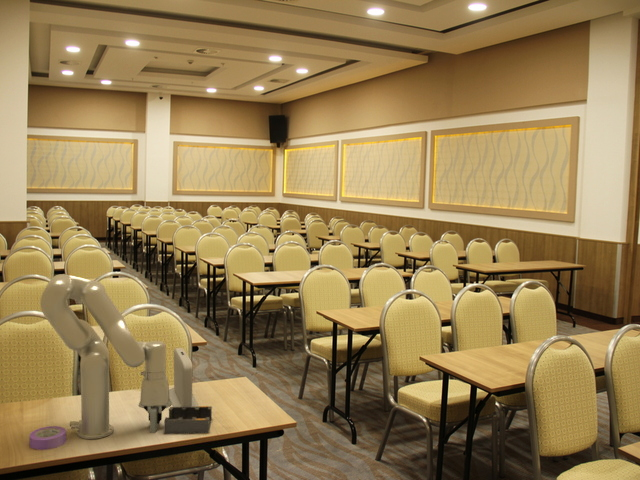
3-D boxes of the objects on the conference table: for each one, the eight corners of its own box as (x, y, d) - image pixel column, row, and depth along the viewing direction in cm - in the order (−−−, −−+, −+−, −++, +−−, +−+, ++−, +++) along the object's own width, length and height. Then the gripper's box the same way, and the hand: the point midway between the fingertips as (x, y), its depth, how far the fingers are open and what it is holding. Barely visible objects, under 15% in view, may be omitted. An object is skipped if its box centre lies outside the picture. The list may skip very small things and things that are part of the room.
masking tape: (50, 452, 204) (50, 441, 203) (21, 447, 207) (21, 436, 206) (73, 438, 215) (73, 428, 215) (45, 434, 218) (45, 424, 218)
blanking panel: (149, 432, 222) (149, 411, 221) (154, 421, 232) (155, 400, 232) (155, 432, 222) (155, 411, 221) (160, 421, 233) (160, 400, 232)
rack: (164, 433, 221) (164, 420, 220) (170, 419, 234) (170, 406, 234) (208, 433, 222) (208, 419, 222) (211, 418, 236) (211, 405, 236)
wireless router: (201, 411, 244) (201, 363, 242) (176, 414, 240) (176, 365, 239) (188, 387, 273) (188, 344, 271) (165, 389, 269) (166, 345, 267)
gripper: (131, 377, 221) (131, 426, 222) (175, 377, 223) (175, 425, 224) (135, 371, 228) (135, 418, 230) (178, 371, 230) (177, 418, 231)
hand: (155, 422), depth 227 cm, fingers closed on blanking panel, 2 cm apart
